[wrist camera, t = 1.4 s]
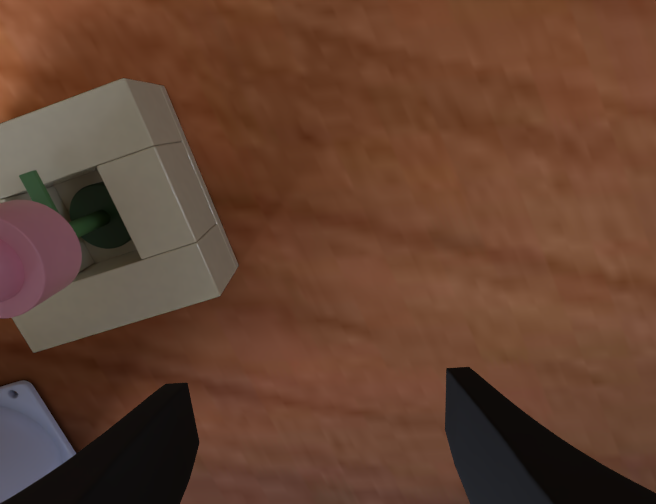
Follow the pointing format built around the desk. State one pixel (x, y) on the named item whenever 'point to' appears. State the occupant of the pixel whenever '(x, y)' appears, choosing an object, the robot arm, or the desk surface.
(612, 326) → the desk surface
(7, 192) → the beige square socket block
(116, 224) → the flower
